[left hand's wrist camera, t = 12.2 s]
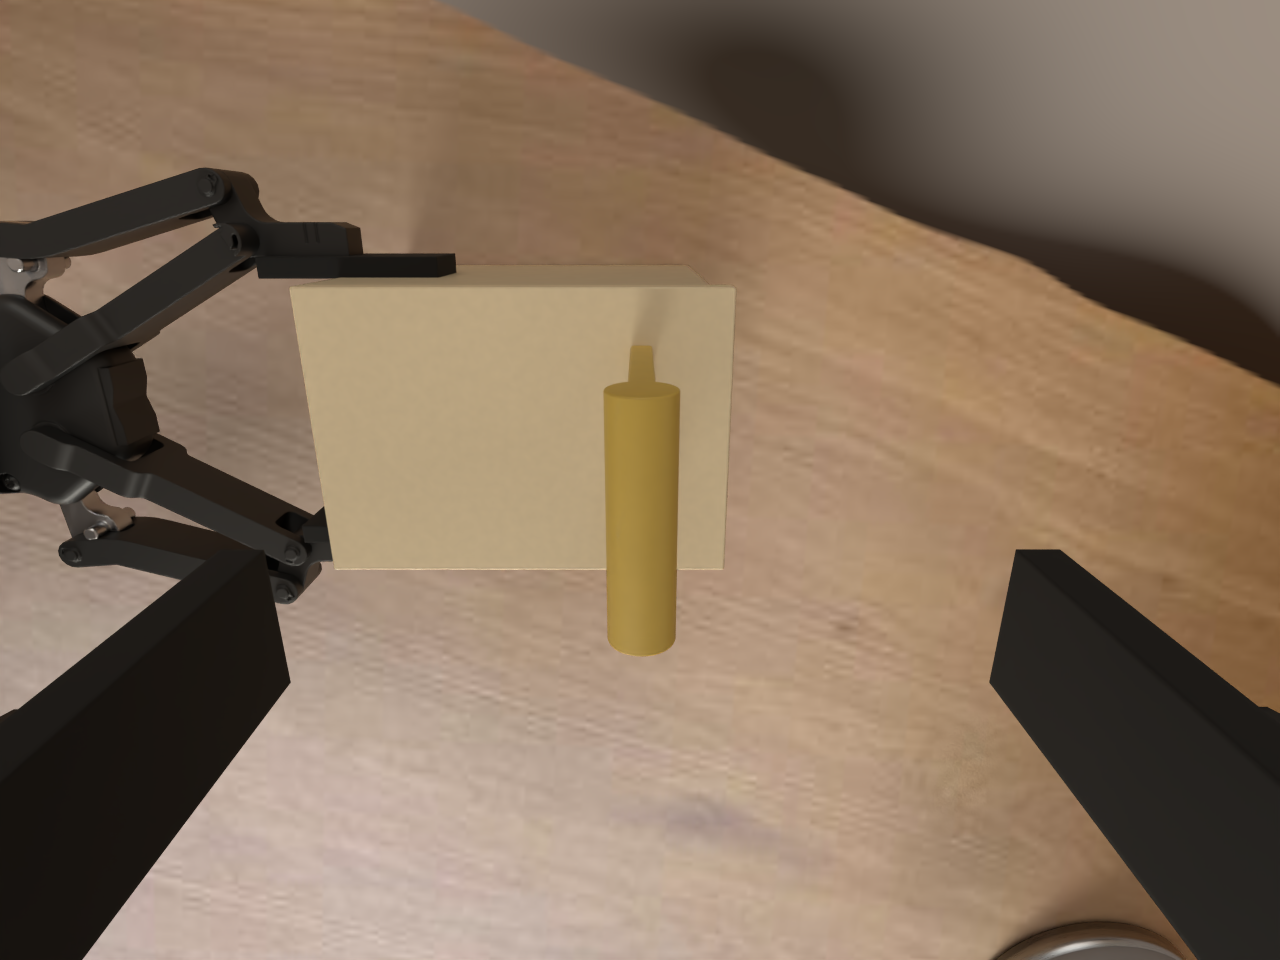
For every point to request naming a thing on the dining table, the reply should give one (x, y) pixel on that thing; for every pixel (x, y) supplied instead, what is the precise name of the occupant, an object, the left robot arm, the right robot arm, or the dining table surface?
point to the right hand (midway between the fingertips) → (459, 401)
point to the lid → (526, 432)
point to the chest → (545, 276)
